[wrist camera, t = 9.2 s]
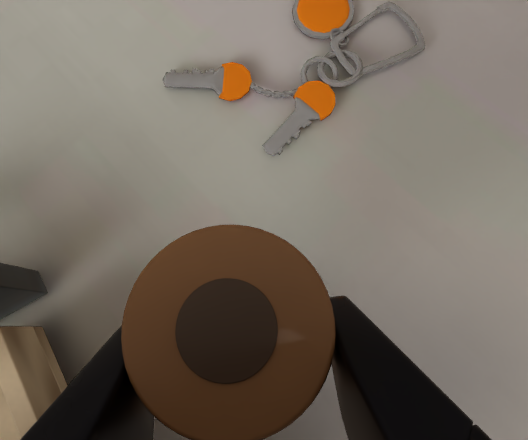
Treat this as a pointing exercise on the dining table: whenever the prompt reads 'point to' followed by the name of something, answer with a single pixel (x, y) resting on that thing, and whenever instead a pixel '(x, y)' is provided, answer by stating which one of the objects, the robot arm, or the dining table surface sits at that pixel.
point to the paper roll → (228, 334)
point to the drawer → (24, 357)
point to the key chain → (311, 92)
